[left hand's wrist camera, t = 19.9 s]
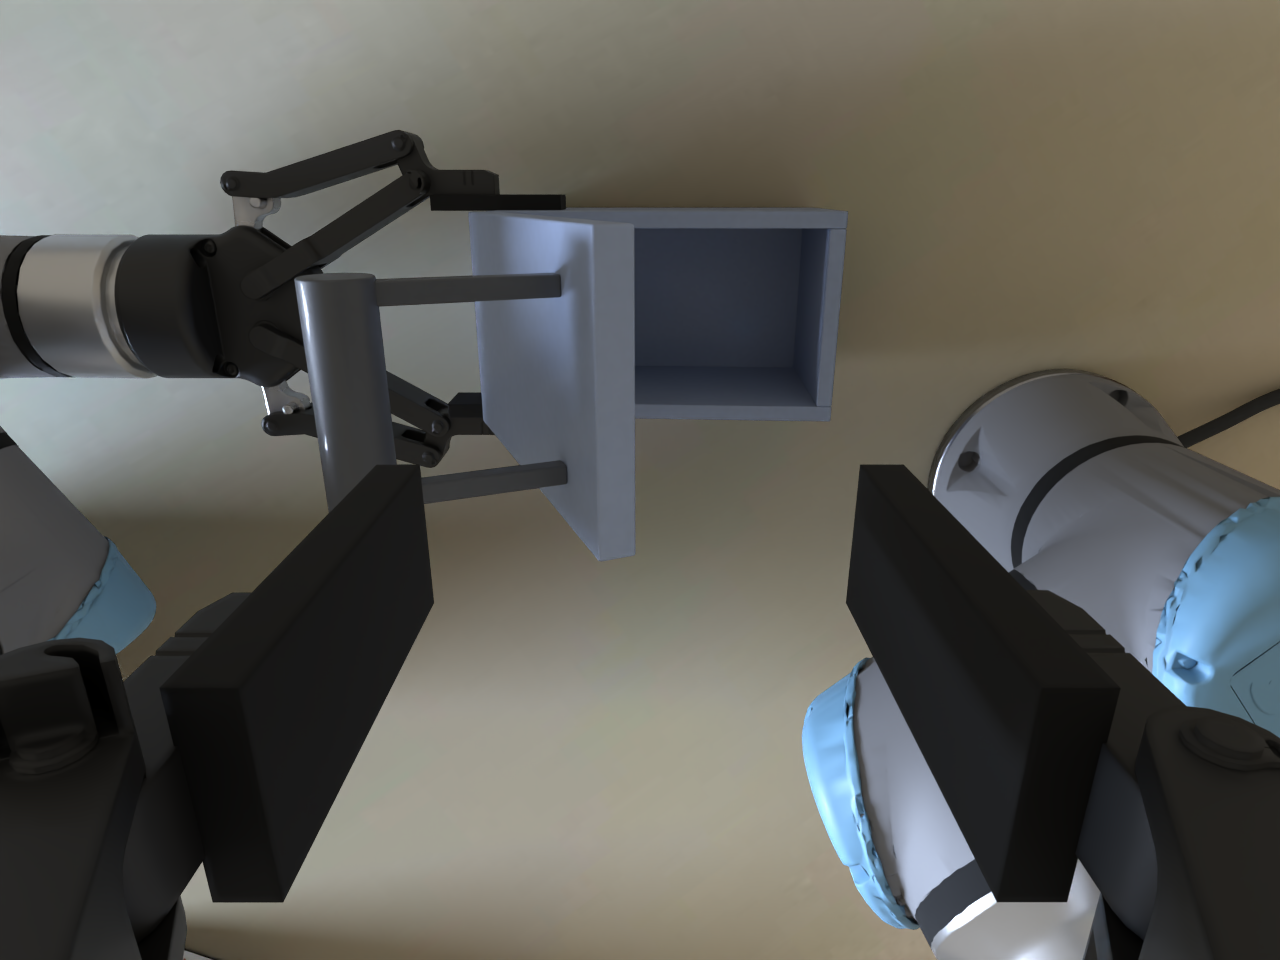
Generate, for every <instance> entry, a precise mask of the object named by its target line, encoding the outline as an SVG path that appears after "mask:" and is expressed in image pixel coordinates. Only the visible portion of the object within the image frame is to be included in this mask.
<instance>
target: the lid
mask: <svg viewBox="0 0 1280 960" xmlns="http://www.w3.org/2000/svg"><path fill="white" fill-rule="evenodd" d="M469 228H470V242H471V256H472V270H473V276H450V277H424V278H397V279H376V278H375V276H374V275H372V274H365V273H327V274H313V275H304V276H299V277H296V278H295V279H294V282H295V288H296V295H297V302H298V308H299V315H300V322H301V329H302V335H303V342H304V349H305V355H306V362H307V369H308V376H309V382H310V389H311V396H312V402H313V409H314V416H315V423H316V429H317V436H318V443H319V449H320V456H321V463H322V470H323V476H324V483H325V490H326V496H327V503H328V510H329V513H330V512H331V511H332V510H333V509H334V508H335V507H336V506H337V505H338V504H339V503H340V502H341V501H342V500H343V498H344V497H345V496H346V495H347V494H348V493H349V492H350V491H351V490H352V489H353V488H354V487H355V486H356V485H357V484H358V483H359V482H360V481H361V480H362V479H363V478H364V477H365V476H366V475H367V474H368V473H369V472H370V471H371V470H372V469H373V468H374V467H375V466H376V465H397V462H396V453H395V445H394V436H393V427H392V418H391V410H390V401H389V392H388V383H387V374H386V366H385V357H384V348H383V339H382V331H381V322H380V313H379V306H398V305H418V304H438V303H458V302H475V311H476V325H477V339H478V353H479V366H480V380H481V394H482V408H483V420H484V422H485V423H486V424H487V426H488V427H489V428H490V429H491V430H492V432H493V433H494V434H495V435H496V436H497V438H498V439H499V440H500V441H501V443H502V444H503V445H504V446H505V447H506V449H507V450H508V451H509V452H510V453H511V455H512V456H513V457H514V458H515V460H516V461H517V462H518V463H519V464H520V465H518V466H510V467H502V468H494V469H487V470H479V471H471V472H463V473H455V474H447V475H439V476H432V477H424V478H421V481H422V491H423V501H424V504H428V503H435V502H442V501H449V500H457V499H464V498H471V497H478V496H485V495H492V494H500V493H507V492H514V491H521V490H528V489H536V488H539V489H540V490H541V491H542V492H543V494H544V495H545V496H546V497H547V499H548V500H549V501H550V502H551V503H552V505H553V506H554V507H555V508H556V509H557V511H558V512H559V513H560V514H561V516H562V517H563V518H564V519H565V520H566V522H567V523H568V524H569V525H570V526H571V528H572V529H573V530H574V531H575V533H576V534H577V535H578V536H579V537H580V539H581V540H582V541H583V542H584V544H585V545H586V546H587V547H588V548H589V550H590V551H591V552H592V553H593V554H594V556H595V557H596V558H597V559H598V561H606V560H612V559H617V558H623V557H629V556H634V555H635V307H634V225H633V224H631V223H621V222H610V221H598V220H587V219H575V218H563V217H552V216H540V215H529V214H517V213H506V212H494V211H487V212H469Z"/></svg>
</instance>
